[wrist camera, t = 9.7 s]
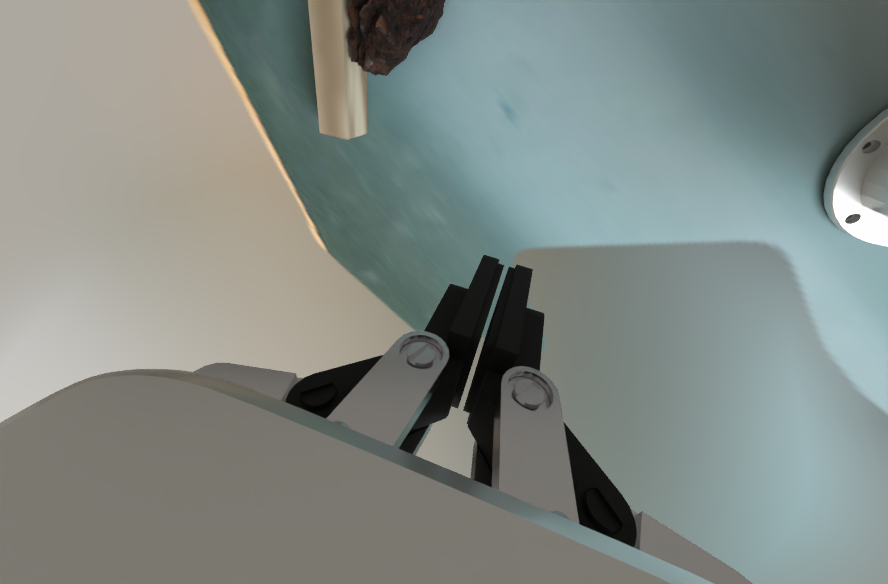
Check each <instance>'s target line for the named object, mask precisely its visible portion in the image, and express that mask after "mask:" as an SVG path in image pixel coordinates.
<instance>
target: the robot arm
mask: <svg viewBox="0 0 888 584" xmlns="http://www.w3.org/2000/svg"><path fill="white" fill-rule="evenodd" d="M864 145H865V146H864ZM823 195H824V207H825V210H826V212H827V214H828V216H829V219H830V220H831V221H832V222H833V223H834V224H835V225H836V226H837V227H838V228H839V229H840V230H842V231H844V232H845V233H847V234H848V235H850V236H852V237H854V238H856V239H859V240H861V241H863V242H866V243H870V244H874V245H879V246H885V247H888V108H887V109H885V110H884V111H882V112H881V113H880V114H879V115H878V116H877V117H875V118H874V119H873V120H872V121H871V122H869V123H868V124H867V125H866V126H865V127H864V128H862V129H861V130H860V132H859V133H858V134H857V135H856V136H855V137H854V138H853V139H852V140H851V141H850V142H849V143H848V145H847V146H846V147H845V148H844V150H843V151H842V152H841V154H840V155H839V157H838V158H837V160H836V161H835V163H834V164H833V166H832V169H831V171H830V173H829V175H828V177H827V180H826V184H825V189H824V194H823ZM498 262H499V259H496V258H493V257H490V256H486V255H484V256H483V258H482V260H481V262H480V264H479V267H478V269H477V271H476V273H475V275H474V278H473V280H472V282H471V284H470V286H469V289H466V288H463V287H460V286H457V285H453V284H450V285H449V287H448V289H447V290H446V292H445V294H444V296H443V298H442V300H441V301H440V303H439V305H438V307H437V309H436V311H435V312H434V314H433V316H432V318H431V320H430V321H429V323H428V325H427V327H426V329H425V331H413V332H409V333H407V334H404V335H403V336H402V337H400V338H399V339H398V340H397V341H396V342H395V343H394V344H393V345H392V346H391V348H390V349H389V350H388V351H387V352H386V353H385V354H384V355H381V356H378V357H374V358H370V359H367V360H363V361H359V362H356V363H352V364H348V365H345V366H341V367H338V368H334V369H330V370H327V371H323V372H319V373H315V374H312V375H310V376H307V377H305V378H297V376H296V373H290V372H283V371H276V370H270V369H263V368H257V367H250V366H244V365H237V364H230V363H215V364H210V365H207V366H204V367H202V368H200V369H198V370H196V371H194V372H187V371H181V370H168V369H136V370H124V371H117V372H110V373H105V374H101V375H97V376H93V377H90V378H87V379H84V380H82V381H79V382H77V383H74V384H72V385H70V386H68V387H66V388H64V389H61V390H59V391H57V392H55V393H53V394H51V395H49V396H48V397H46V398H44V399H42V400H40V401H38V402H36V403H35V404H33V405H31V406H29V407H27V408H26V409H24V410H22V411H20V412H19V413H17V414H15V415H13V416H11V417H10V418H8V419H6V420H4V421H3V422H1V423H0V584H752V583H751V582H750V581H749V580H747V579H746V578H745V577H744V576H742V575H741V574H740V573H739V572H737V571H736V570H734V569H733V568H731V567H730V566H728V565H727V564H725V563H723V562H722V561H720V560H718V559H717V558H715V557H714V556H712V555H711V554H709V553H708V552H706V551H704V550H703V549H701V548H700V547H698V546H696V545H695V544H693V543H692V542H690V541H688V540H687V539H685V538H684V537H682V536H681V535H679V534H677V533H676V532H674V531H673V530H671V529H670V528H668V527H666V526H665V525H663V524H662V523H660V522H658V521H657V520H655V519H654V518H652V517H651V516H649V515H647V514H646V513H644V512H643V511H642V512H640V513H639V514H637V513H636V512H634V511H633V510H631V509H630V507H629V505H628V503H627V502H626V501H625V499H624V497H623V496H622V494H621V493H620V492H619V491H618V489H617V488H616V487H615V486H614V484H613V483H612V482H611V481H610V480H609V479H608V477H607V476H606V474H605V473H604V472H603V471H602V470H601V468H600V467H599V466H598V464H597V463H596V462H595V461H594V459H593V458H592V457H591V456H590V454H589V453H588V452H587V451H586V449H585V448H584V447H583V446H582V444H581V443H580V442H579V441H578V439H577V438H576V437H575V436H574V434H573V433H572V432H571V431H570V429H569V428H568V427H567V426H566V424H565V423H564V421H563V415H562V408H561V403H560V396H559V393H558V390H557V388H556V386H555V385H554V383H553V382H552V381H551V380H550V379H549V378H548V377H547V376H546V375H545V374H543V373H541V372H540V360H541V348H542V337H543V326H544V313H541V312H538V311H535V310H532V309H529V308H526V306H527V300H528V294H529V288H530V282H531V277H532V269H530V268H526V267H523V266H520V265H516V267H515V268H511V267H509V268H508V271H507V274H506V277H505V280H504V283H503V286H502V289H501V292H500V295H499V298H498V301H497V304H496V307H495V310H494V313H493V316H492V319H491V322H490V325H489V328H488V331H487V334H486V337H485V341H484V344H483V347H482V351H481V354H480V357H479V360H478V364H477V367H476V370H475V374H474V377H473V380H472V384H471V387H470V390H469V393H468V397H467V400H466V403H465V406H464V410H463V411H466V412H469V413H470V414H469V417H468V421H467V424H468V427H469V429H470V431H471V433H472V435H473V437H474V438H475V442H474V446H473V457H472V468H471V479H470V478H468V477H465V476H463V475H461V474H458V473H456V472H453V471H451V470H449V469H446V468H443V467H441V466H439V465H437V464H434V463H431V462H429V461H427V460H424V459H422V458H420V457H417V456H415V455H416V454H417V452H418V450H419V448H420V447H421V445H422V443H423V441H424V440H425V438H426V436H427V434H428V433H429V431H430V429H431V426H432V424H433V423H435V422H437V421H440V420H442V419H445V418H446V417H447V416H448V414H449V411H450V408H451V406H453V407H455V408H458V406H459V403H460V400H461V397H462V394H463V391H464V388H465V385H466V382H467V379H468V375H469V372H470V369H471V366H472V363H473V360H474V357H475V354H476V350H477V348H478V344H479V342H480V338H481V335H482V332H483V329H484V326H485V323H486V320H487V317H488V314H489V311H490V307H491V304H492V301H493V298H494V295H495V292H496V289H497V286H498V283H499V280H500V276H501V273H502V270H503V267H504V265H501V264H498Z"/></svg>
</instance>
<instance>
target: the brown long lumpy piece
mask: <svg viewBox="0 0 888 584" xmlns="http://www.w3.org/2000/svg"><path fill="white" fill-rule="evenodd" d="M444 2H445V0H353V1H352V4H350V5H349V6H348V8H349V13H348V16H349V18H350V20H351V24H352V27H353V28H354V30H353V32H352V33H349V39H348V44H350V46H351V62H355V63H358V66H361V68H362V70H363V71H365V72H371V73H372V74H374V75H378V74H380V75H385V76H386V75H388V74H389V73H390V71H391V70H392V69H393V68H394V67H396V66H397V65H398V64H400V63H401V62H402V61H404V60H405V59H406V58H407V55H408V53H409V51H410V50H411V48H412V47H413V46H414V45H416V44H418V42H419V41H421V40H423V39H425V38H426V37H428V36H429V35H431V34H432V33H433V31H434V30H435V28H436V26H437V23H438V20H439V19H440V18H441V17H442V15H443V7H444Z"/></svg>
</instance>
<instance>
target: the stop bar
mask: <svg viewBox="0 0 888 584" xmlns="http://www.w3.org/2000/svg"><path fill="white" fill-rule="evenodd" d="M352 1H353V0H308V7H309V18H310V29H311V40H312V51H313V62H314V73H315V84H316V95H317V106H318V117H319V128H320V133H322V134H326V135H330V136H334V137H338V138H343V139H347V140H348V139H351V138H354V137H357V136H361V135H364V134H367V72H365V71H363V70H362V68H361V66H358V63H355V62H351V46H350V44H348V39H349V33H352V32H353V30H354V28H353V27H352V24H351V20H350V18H349V16H348V13H349V8H348V6H349V5H350V4H352Z"/></svg>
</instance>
